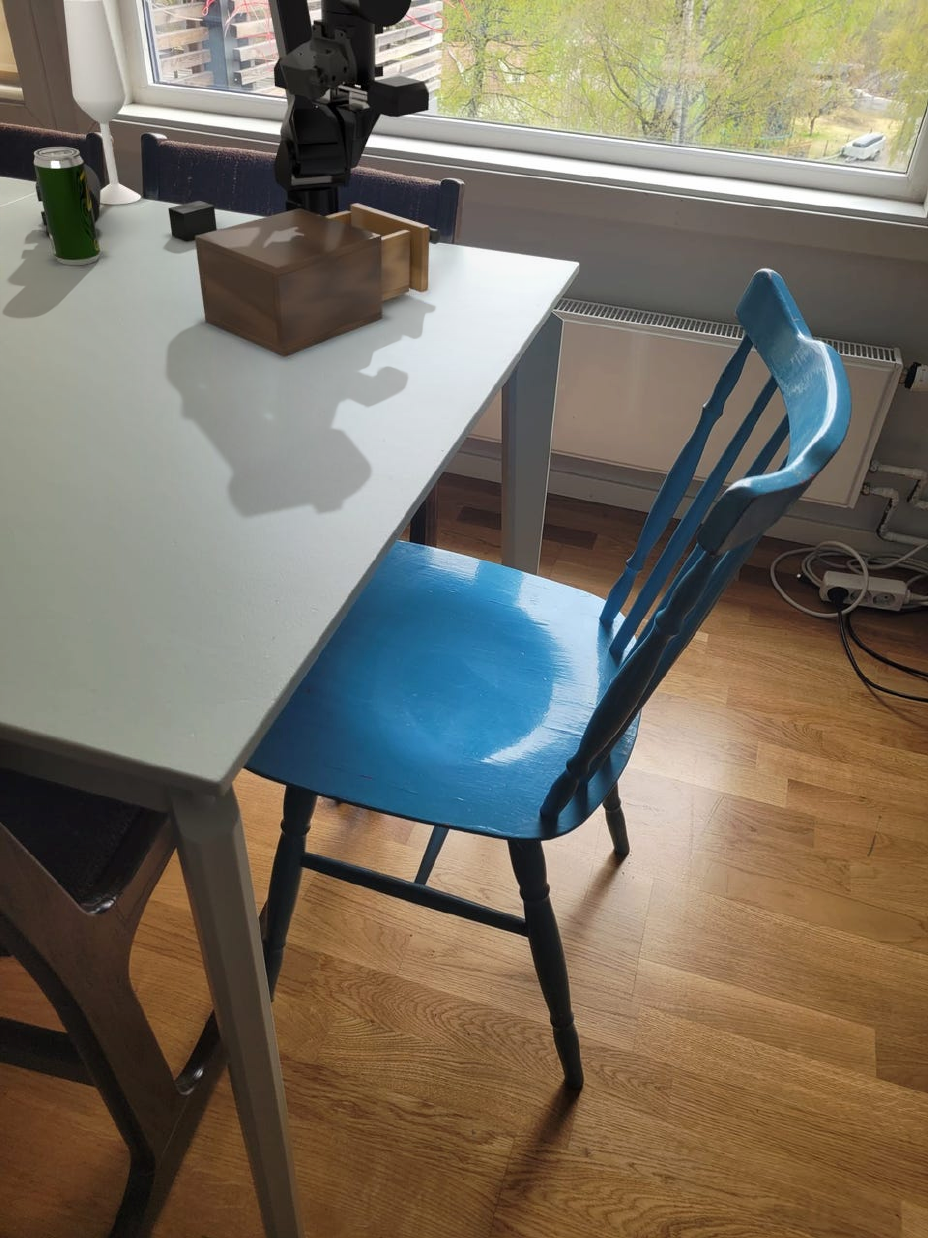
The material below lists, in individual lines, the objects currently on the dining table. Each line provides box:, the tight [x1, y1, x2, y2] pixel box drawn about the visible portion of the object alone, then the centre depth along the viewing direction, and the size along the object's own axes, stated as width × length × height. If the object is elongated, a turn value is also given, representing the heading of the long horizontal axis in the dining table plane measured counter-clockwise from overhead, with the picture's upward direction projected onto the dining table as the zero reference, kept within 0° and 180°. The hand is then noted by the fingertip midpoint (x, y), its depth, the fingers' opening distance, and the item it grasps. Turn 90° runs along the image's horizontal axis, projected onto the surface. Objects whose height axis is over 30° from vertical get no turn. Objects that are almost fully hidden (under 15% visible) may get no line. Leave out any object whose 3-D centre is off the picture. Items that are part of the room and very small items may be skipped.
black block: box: [168, 200, 218, 242], centre depth 125 cm, size 5×3×4 cm, turn 141°
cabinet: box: [194, 208, 383, 357], centre depth 103 cm, size 15×13×9 cm
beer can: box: [33, 146, 101, 266], centre depth 113 cm, size 5×5×12 cm
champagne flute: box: [63, 0, 142, 206], centre depth 129 cm, size 7×7×24 cm
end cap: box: [35, 163, 102, 238], centre depth 124 cm, size 10×7×7 cm
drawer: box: [325, 202, 442, 302], centre depth 110 cm, size 18×11×7 cm, turn 140°
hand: (351, 167), depth 112 cm, fingers closed
